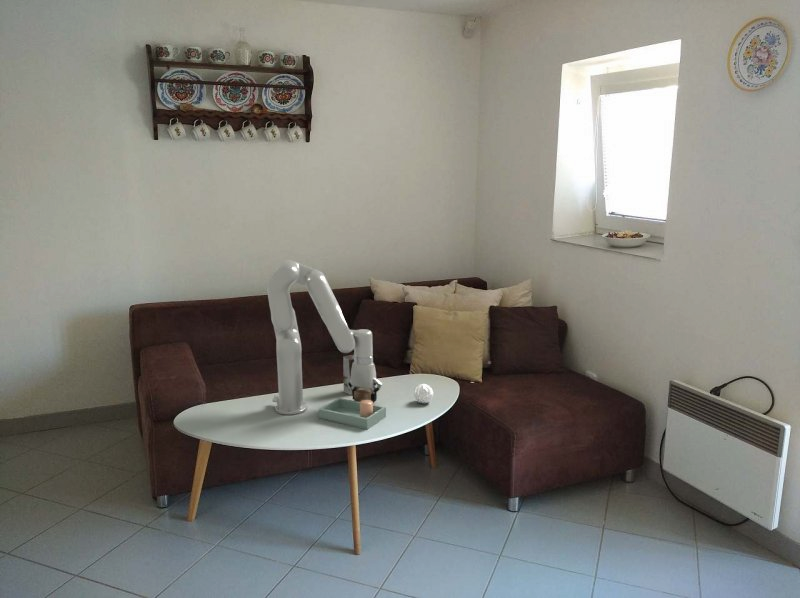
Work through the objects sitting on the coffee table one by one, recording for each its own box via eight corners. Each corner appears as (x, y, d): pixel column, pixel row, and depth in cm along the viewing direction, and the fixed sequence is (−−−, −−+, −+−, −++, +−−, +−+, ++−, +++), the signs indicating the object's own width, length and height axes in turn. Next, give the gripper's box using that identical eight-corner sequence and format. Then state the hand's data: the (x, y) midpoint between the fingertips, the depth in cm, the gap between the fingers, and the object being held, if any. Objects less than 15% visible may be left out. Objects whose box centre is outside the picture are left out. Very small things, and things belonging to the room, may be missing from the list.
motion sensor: (414, 405, 258) (414, 387, 256) (413, 399, 265) (413, 381, 264) (433, 405, 258) (433, 387, 256) (432, 399, 265) (432, 381, 264)
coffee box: (350, 395, 270) (349, 359, 266) (343, 391, 275) (342, 356, 272) (368, 391, 275) (368, 356, 271) (361, 387, 280) (360, 352, 277)
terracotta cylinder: (357, 420, 241) (357, 403, 240) (364, 415, 245) (364, 399, 244) (368, 422, 239) (368, 405, 237) (375, 418, 243) (375, 401, 242)
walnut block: (354, 405, 259) (353, 391, 258) (362, 400, 264) (361, 387, 263) (366, 407, 256) (366, 393, 255) (374, 403, 261) (374, 389, 260)
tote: (319, 418, 244) (318, 409, 244) (339, 407, 256) (339, 397, 256) (367, 429, 234) (367, 419, 233) (386, 416, 246) (385, 407, 245)
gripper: (340, 359, 257) (341, 399, 261) (377, 365, 249) (377, 406, 252) (350, 354, 264) (351, 394, 267) (386, 360, 255) (387, 400, 259)
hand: (364, 399), depth 260 cm, fingers open, 8 cm apart
